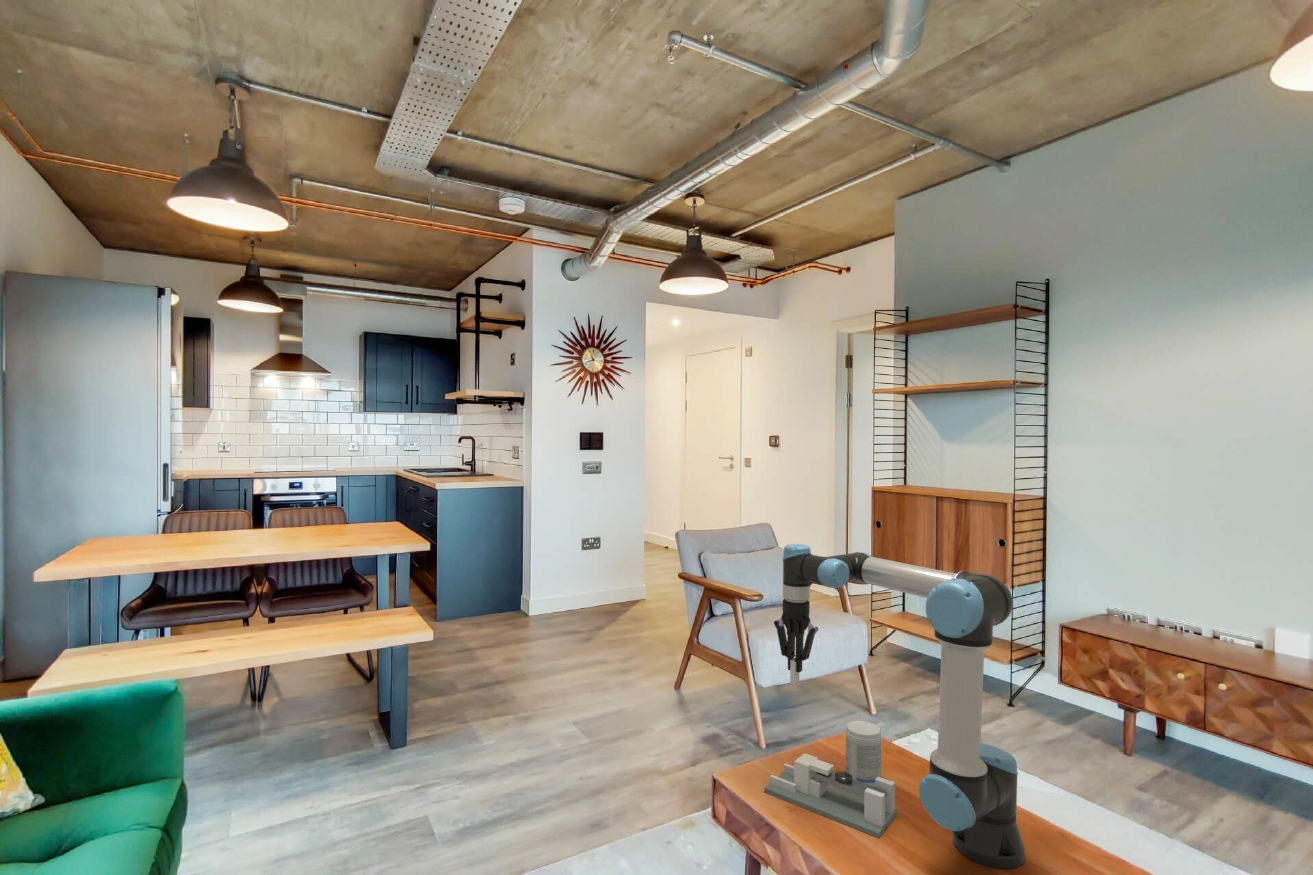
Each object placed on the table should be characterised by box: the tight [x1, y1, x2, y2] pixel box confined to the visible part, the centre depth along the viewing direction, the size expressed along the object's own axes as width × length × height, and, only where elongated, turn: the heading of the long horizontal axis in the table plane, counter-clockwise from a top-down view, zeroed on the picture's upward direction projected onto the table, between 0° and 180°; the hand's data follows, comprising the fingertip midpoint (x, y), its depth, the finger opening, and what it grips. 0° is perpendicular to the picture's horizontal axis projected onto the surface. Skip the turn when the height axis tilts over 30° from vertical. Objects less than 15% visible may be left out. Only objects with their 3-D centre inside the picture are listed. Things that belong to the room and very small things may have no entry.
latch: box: [793, 752, 835, 794], centre depth 172 cm, size 9×6×8 cm, turn 51°
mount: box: [763, 763, 898, 839], centre depth 169 cm, size 31×13×8 cm, turn 51°
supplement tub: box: [845, 720, 882, 787], centre depth 181 cm, size 10×10×15 cm
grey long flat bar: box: [815, 770, 887, 798], centre depth 166 cm, size 18×4×2 cm, turn 51°
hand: (794, 682), depth 182 cm, fingers closed
